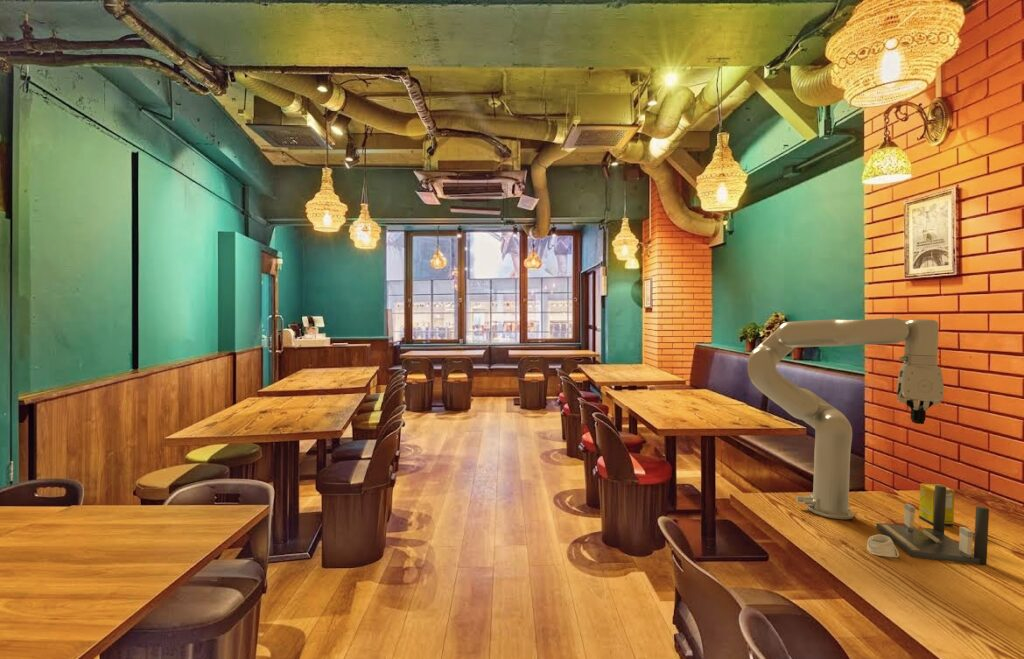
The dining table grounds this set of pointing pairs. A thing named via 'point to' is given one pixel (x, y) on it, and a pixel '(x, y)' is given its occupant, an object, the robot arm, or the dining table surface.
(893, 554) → the grey hollow teardrop piece
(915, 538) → the panel
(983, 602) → the dining table surface
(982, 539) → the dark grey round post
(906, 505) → the beige flat bar
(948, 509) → the supplement box
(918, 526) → the cream block orange end
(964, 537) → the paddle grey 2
